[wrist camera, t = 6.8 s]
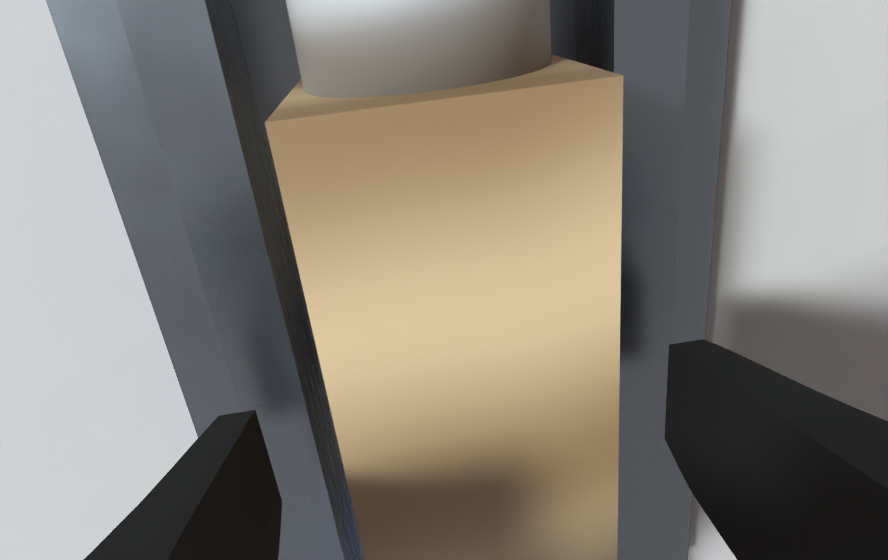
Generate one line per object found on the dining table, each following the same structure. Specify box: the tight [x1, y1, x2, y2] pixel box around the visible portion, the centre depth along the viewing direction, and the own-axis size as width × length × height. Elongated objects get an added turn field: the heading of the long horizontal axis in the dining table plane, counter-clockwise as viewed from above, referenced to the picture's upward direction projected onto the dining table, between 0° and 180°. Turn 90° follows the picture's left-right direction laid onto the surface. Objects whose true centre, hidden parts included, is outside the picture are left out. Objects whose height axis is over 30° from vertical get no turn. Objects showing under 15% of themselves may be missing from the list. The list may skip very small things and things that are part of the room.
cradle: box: [46, 0, 732, 560], centre depth 13 cm, size 18×12×3 cm, turn 6°
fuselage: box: [265, 0, 623, 560], centre depth 11 cm, size 14×4×6 cm, turn 6°
